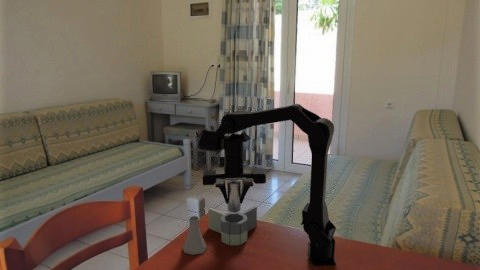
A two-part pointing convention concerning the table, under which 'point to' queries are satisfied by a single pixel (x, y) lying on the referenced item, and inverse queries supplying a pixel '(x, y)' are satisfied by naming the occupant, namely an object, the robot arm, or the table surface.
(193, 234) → the flask
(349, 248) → the table surface
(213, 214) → the pale green bracket
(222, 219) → the grey hollow faceted fixture
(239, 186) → the pin
